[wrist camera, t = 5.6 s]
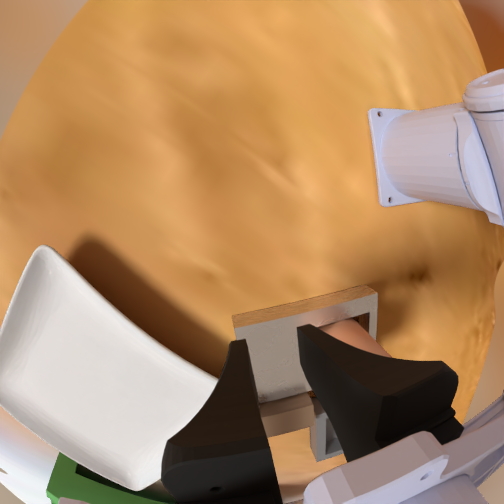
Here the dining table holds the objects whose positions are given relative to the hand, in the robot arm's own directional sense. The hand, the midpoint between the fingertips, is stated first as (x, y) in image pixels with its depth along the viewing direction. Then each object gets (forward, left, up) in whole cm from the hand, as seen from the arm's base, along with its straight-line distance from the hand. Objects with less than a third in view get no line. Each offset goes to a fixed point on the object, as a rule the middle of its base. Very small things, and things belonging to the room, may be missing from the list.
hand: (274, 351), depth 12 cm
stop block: (-1, +13, -10) cm, 16 cm away
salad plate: (+15, +8, -10) cm, 20 cm away
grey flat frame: (-4, +7, -10) cm, 13 cm away
